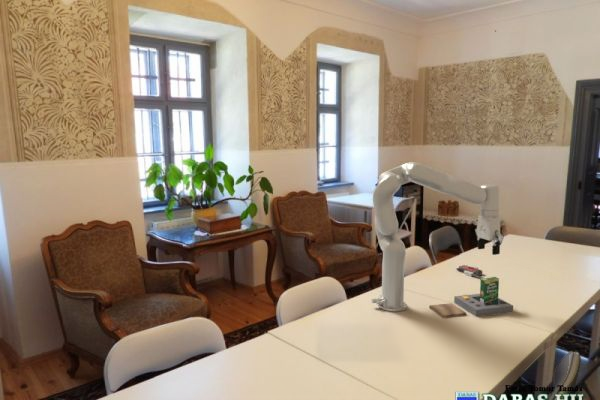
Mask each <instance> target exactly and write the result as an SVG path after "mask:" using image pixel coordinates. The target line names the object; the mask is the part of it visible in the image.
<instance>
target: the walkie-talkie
mask: <svg viewBox="0 0 600 400" xmlns="http://www.w3.org/2000/svg"><path fill="white" fill-rule="evenodd" d="M456 270H457V271H458V272H460V273H463V274H464V275H465V276H468V277H470V278H473V277H475V278H477V279H480V280H481V279H484V278H485V277H483V276H482V275H483V270H482V269H479V267H477V266H474V265H470V266H469V265H468V264H466V265H465V264H464V265H459V266H458V267H457V268H456Z"/></svg>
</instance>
